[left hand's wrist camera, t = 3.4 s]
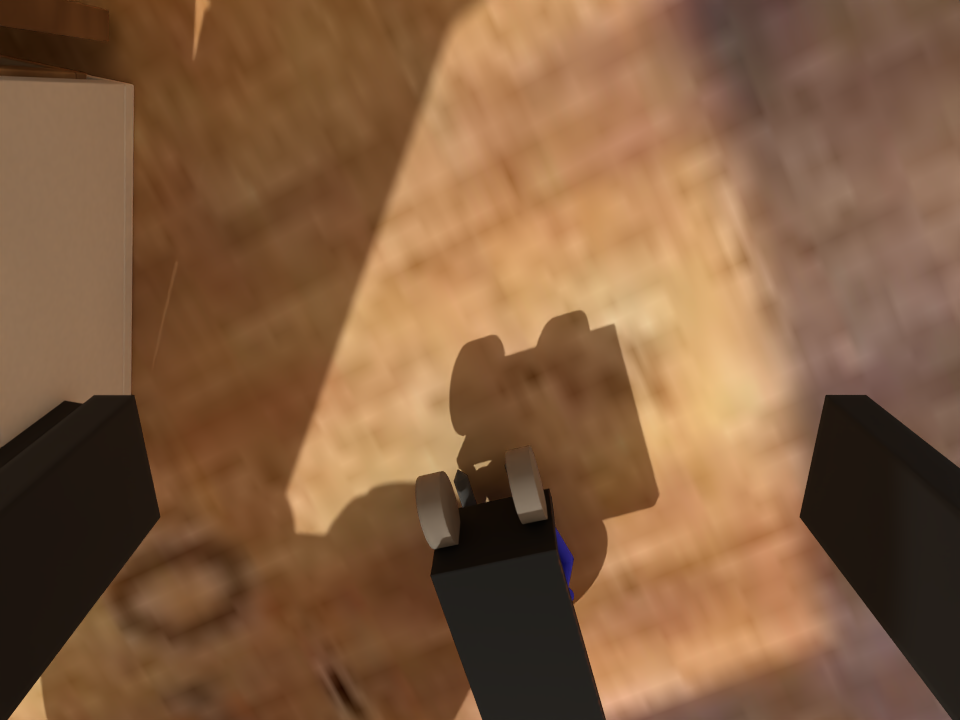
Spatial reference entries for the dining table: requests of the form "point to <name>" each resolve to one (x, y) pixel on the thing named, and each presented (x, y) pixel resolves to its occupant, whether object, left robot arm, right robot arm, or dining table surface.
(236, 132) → the dining table surface
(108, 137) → the cabinet
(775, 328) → the dining table surface
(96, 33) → the drawer
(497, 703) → the figurine character
